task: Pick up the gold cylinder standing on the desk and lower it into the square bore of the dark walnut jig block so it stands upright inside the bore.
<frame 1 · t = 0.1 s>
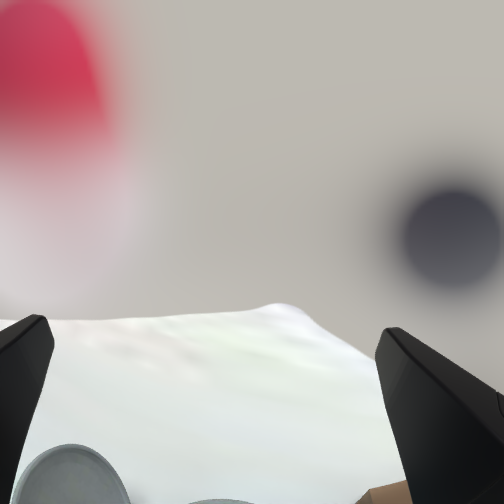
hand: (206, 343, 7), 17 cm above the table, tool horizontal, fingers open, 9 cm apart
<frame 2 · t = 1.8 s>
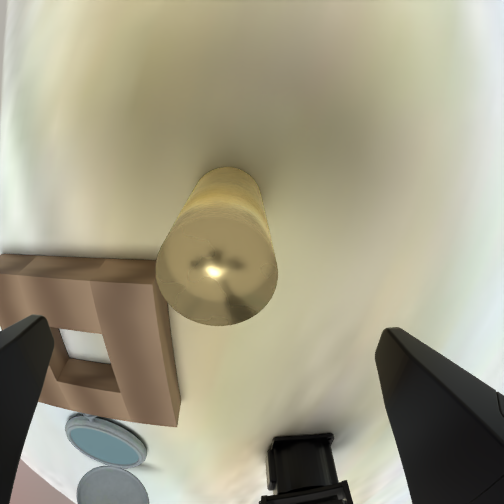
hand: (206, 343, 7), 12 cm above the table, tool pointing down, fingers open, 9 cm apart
pocket watch: (107, 437, 30), on the table
gold cylinder: (226, 200, 18), on the table
jig block: (89, 335, 22), on the table
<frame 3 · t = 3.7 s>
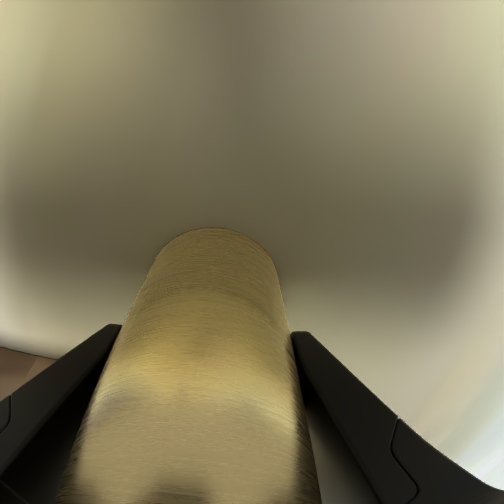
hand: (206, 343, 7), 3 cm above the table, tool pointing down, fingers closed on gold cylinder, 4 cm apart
gold cylinder: (213, 289, 10), on the table, touching gripper
jig block: (43, 430, 14), on the table
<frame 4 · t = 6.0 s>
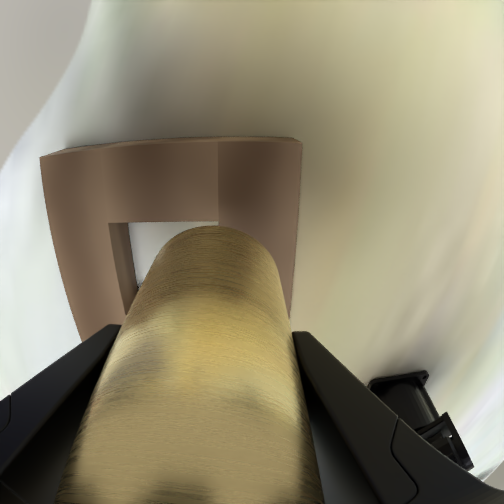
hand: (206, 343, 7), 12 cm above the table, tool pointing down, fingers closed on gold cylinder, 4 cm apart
gold cylinder: (214, 287, 10), point 10 cm above the table, touching gripper
jig block: (175, 250, 20), on the table
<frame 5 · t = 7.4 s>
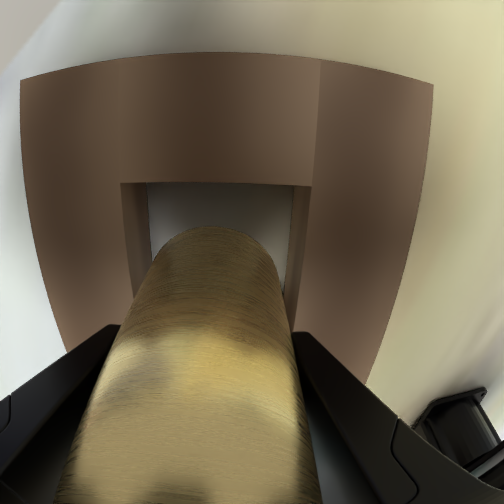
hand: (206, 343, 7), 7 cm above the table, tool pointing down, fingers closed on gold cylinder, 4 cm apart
gold cylinder: (213, 287, 10), point 4 cm above the table, touching gripper
jig block: (218, 236, 13), on the table
when the fingers open (4 cm above the table, at t = 8.6 s): gold cylinder drops 2 cm, resting in jig block.
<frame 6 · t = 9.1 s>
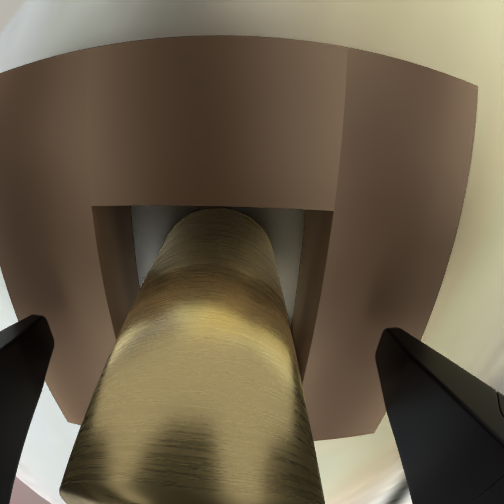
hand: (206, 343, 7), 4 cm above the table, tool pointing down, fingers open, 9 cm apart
gold cylinder: (217, 261, 11), resting in jig block
jig block: (216, 263, 11), on the table
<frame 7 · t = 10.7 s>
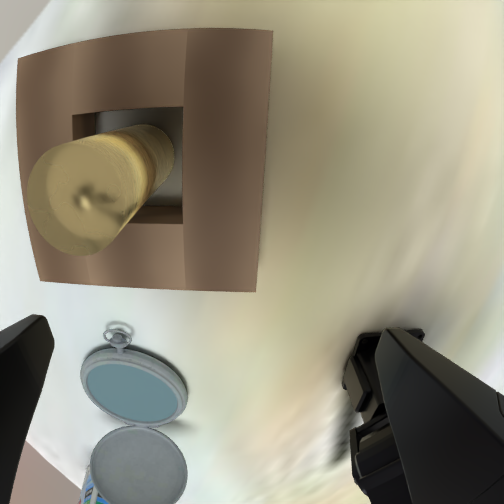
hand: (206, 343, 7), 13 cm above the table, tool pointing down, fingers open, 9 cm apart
light bulb box: (114, 467, 35), on the table
pocket watch: (135, 383, 26), on the table
gold cylinder: (141, 157, 17), resting in jig block
jig block: (140, 158, 17), on the table
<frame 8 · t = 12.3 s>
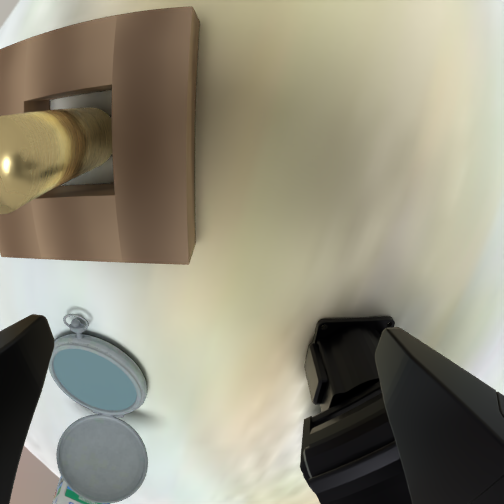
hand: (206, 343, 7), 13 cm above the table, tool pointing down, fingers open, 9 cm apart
light bulb box: (91, 458, 34), on the table
pocket watch: (99, 371, 26), on the table
gold cylinder: (88, 138, 17), resting in jig block
jig block: (87, 138, 17), on the table
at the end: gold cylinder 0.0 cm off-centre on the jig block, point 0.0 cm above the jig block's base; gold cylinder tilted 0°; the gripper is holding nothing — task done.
